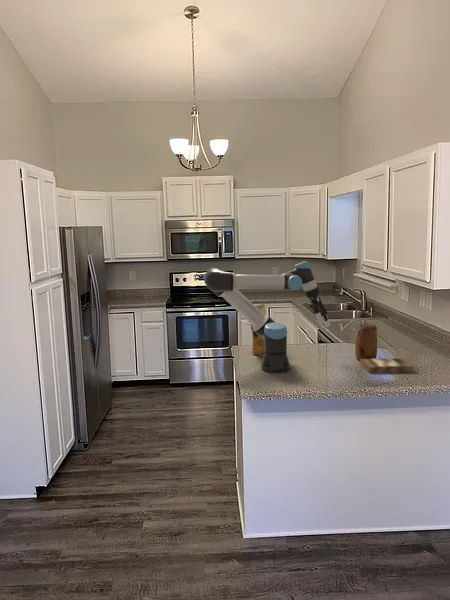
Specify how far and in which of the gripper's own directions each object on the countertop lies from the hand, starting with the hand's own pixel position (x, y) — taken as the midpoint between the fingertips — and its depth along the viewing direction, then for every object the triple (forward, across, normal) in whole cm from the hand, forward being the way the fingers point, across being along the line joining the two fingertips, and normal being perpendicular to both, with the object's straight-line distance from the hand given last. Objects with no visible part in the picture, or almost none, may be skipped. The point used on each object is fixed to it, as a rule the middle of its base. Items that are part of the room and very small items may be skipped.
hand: (325, 325), depth 258 cm
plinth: (+30, -14, -18) cm, 38 cm away
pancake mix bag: (+5, +26, +37) cm, 45 cm away
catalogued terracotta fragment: (+27, +3, -15) cm, 31 cm away
